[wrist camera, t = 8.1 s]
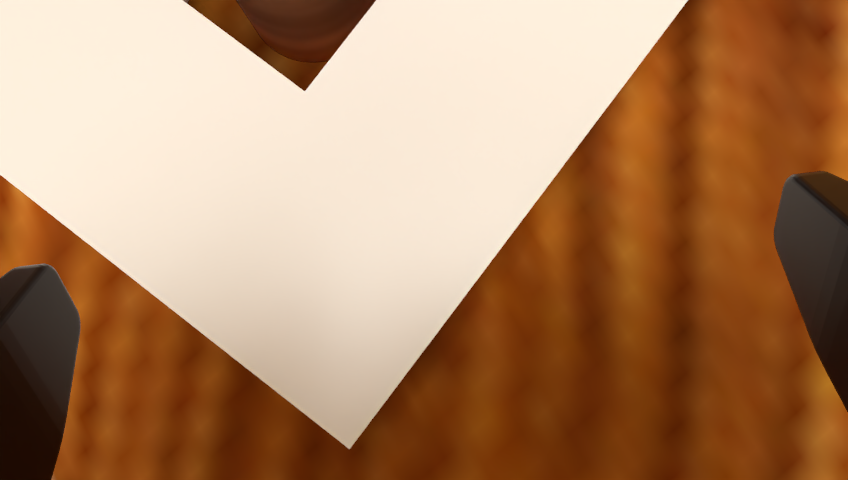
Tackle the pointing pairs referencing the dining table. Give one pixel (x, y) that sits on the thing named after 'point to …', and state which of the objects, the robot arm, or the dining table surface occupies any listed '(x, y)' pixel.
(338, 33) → the terracotta peg
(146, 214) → the white flat square block
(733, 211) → the dining table surface
